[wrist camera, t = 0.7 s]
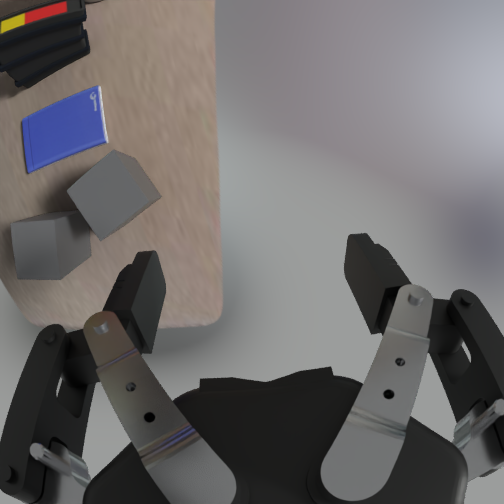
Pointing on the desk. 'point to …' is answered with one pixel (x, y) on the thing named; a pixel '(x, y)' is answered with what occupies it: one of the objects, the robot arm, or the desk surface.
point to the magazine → (42, 40)
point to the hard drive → (64, 129)
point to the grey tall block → (113, 193)
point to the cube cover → (50, 245)
